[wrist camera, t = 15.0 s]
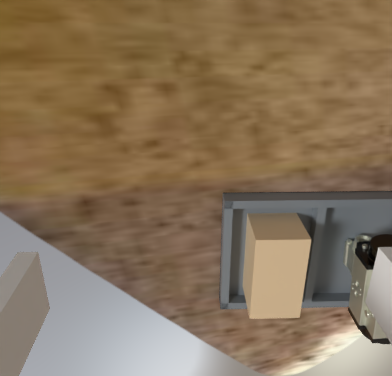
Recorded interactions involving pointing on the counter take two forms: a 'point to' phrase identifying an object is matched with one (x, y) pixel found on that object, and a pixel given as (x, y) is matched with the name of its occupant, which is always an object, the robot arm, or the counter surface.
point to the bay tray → (321, 229)
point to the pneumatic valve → (364, 282)
